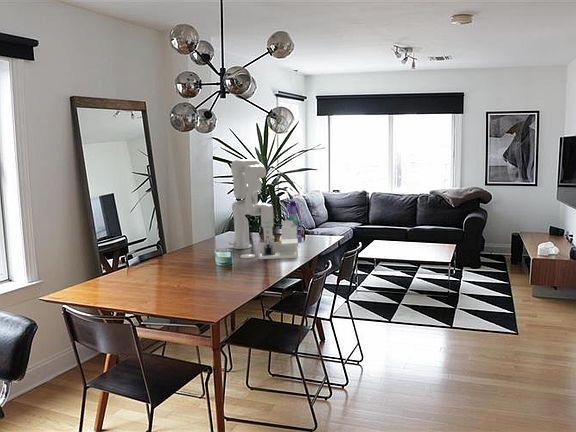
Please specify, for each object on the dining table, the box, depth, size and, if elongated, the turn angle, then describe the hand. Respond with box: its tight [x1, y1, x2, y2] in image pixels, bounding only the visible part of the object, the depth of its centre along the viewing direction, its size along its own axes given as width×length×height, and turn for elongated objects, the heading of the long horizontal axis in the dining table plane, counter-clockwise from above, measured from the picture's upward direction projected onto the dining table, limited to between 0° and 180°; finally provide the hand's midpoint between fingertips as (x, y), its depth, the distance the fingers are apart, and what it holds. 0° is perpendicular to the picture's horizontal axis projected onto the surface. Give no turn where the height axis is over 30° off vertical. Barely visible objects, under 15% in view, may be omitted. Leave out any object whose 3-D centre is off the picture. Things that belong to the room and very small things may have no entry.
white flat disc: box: [240, 253, 256, 260], centre depth 352 cm, size 9×9×1 cm
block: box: [263, 244, 274, 256], centre depth 351 cm, size 5×5×7 cm
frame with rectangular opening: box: [257, 241, 299, 260], centre depth 351 cm, size 24×15×7 cm, turn 90°
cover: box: [279, 235, 299, 246], centre depth 350 cm, size 11×15×3 cm
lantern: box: [285, 198, 303, 243], centre depth 397 cm, size 13×12×30 cm
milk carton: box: [280, 219, 298, 239], centre depth 370 cm, size 7×7×19 cm
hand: (268, 253), depth 351 cm, fingers closed on block, 5 cm apart
